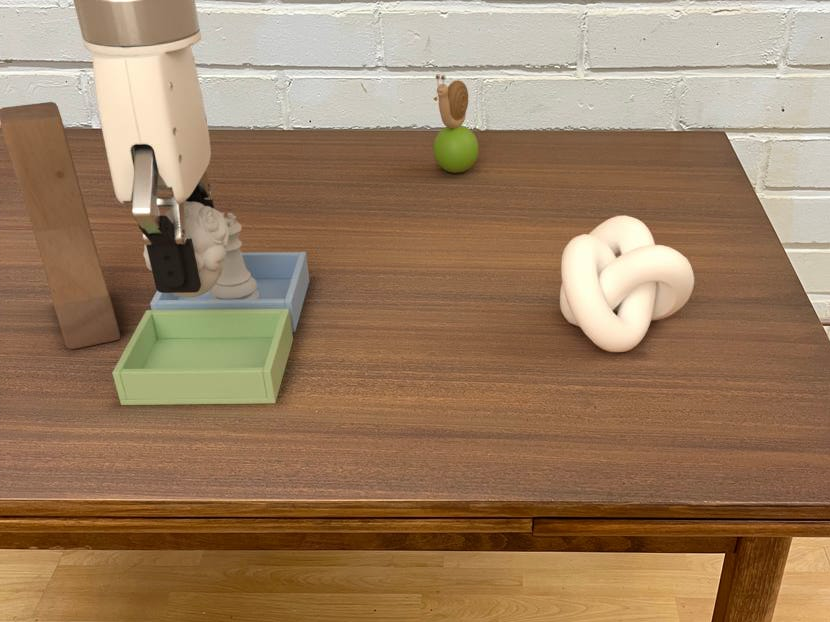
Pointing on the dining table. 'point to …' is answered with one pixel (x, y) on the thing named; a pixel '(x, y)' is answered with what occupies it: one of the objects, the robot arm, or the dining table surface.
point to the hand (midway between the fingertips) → (190, 267)
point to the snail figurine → (454, 129)
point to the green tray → (205, 357)
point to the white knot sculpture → (621, 282)
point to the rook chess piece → (234, 269)
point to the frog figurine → (203, 243)
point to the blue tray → (276, 282)
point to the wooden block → (60, 223)
